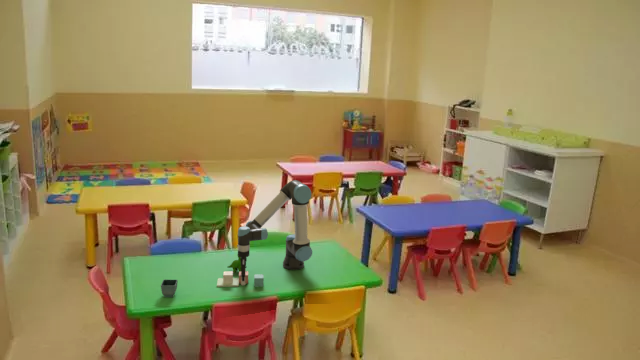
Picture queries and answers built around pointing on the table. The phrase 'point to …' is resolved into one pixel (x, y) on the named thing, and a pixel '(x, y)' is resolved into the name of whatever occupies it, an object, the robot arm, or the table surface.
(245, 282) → the brick coral
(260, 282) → the brick teal
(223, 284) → the plate
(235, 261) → the toy
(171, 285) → the flower pot
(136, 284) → the table surface
